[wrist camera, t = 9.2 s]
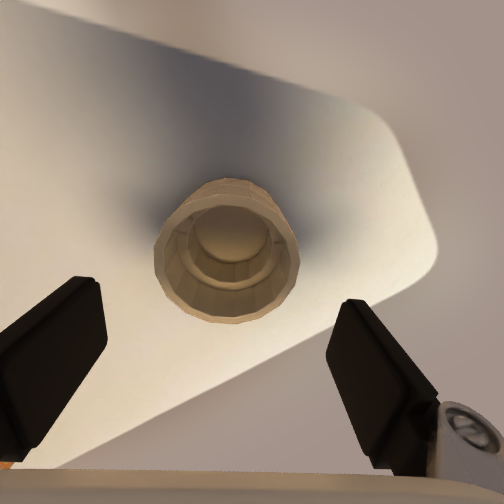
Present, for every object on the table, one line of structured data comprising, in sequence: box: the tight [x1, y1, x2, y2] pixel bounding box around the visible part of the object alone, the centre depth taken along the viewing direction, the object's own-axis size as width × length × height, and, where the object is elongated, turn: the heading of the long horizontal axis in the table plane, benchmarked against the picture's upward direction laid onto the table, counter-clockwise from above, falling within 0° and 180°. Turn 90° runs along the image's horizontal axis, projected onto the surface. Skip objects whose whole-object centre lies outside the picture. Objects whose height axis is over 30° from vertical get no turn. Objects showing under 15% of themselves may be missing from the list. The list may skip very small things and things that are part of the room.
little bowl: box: [154, 178, 300, 324], centre depth 15 cm, size 7×7×6 cm
